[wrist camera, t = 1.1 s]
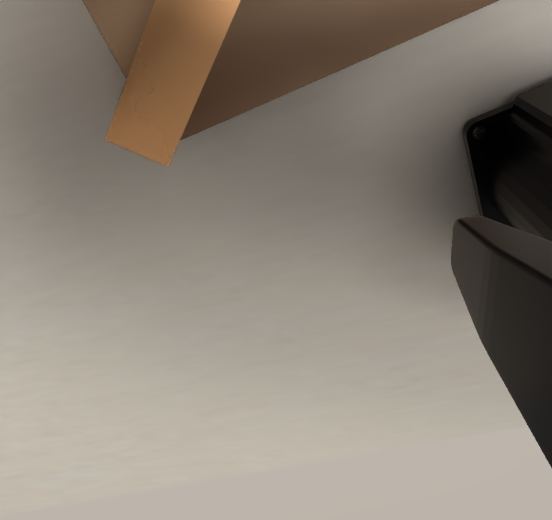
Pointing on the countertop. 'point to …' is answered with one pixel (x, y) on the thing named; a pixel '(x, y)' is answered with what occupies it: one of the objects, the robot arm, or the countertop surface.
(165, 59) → the metal and wood piece
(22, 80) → the countertop surface
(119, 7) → the base plate
